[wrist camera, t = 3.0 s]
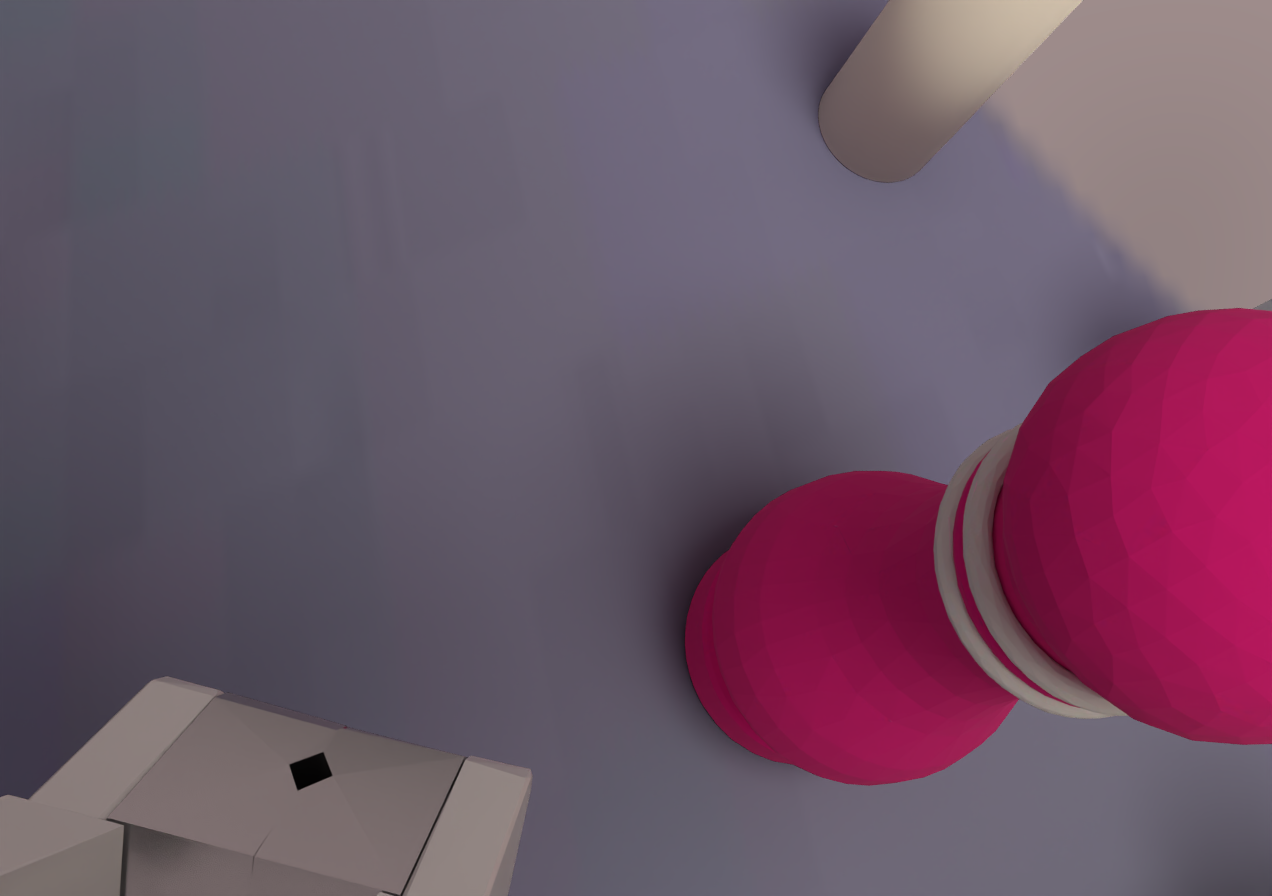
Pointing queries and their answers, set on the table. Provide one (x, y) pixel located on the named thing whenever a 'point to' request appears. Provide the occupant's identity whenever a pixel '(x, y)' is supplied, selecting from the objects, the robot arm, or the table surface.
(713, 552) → the table surface
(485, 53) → the table surface
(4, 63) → the table surface
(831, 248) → the table surface
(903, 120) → the cream post
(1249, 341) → the pepper mill
